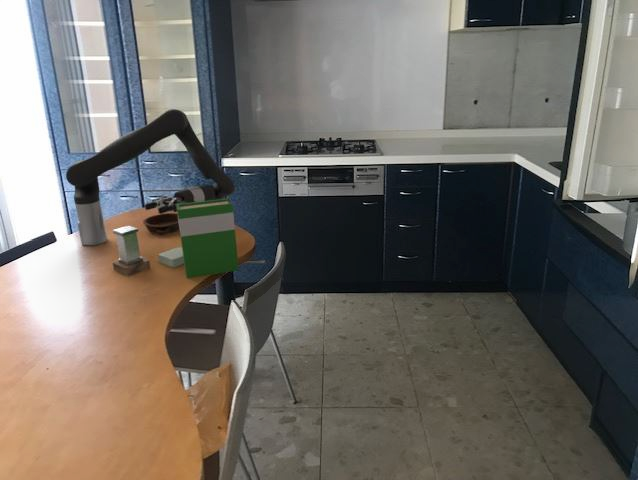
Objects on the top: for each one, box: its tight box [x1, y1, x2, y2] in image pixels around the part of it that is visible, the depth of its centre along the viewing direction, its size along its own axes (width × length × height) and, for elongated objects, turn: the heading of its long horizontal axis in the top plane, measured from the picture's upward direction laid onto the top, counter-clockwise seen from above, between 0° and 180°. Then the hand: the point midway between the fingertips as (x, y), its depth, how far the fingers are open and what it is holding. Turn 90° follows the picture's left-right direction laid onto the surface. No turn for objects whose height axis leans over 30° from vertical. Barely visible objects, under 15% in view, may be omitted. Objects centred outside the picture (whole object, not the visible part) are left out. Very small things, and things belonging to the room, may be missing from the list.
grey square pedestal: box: [112, 225, 144, 266], centre depth 177 cm, size 6×6×12 cm
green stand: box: [157, 246, 184, 268], centre depth 185 cm, size 9×9×3 cm
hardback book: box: [176, 197, 240, 279], centre depth 173 cm, size 18×7×24 cm, turn 108°
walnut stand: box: [112, 257, 151, 278], centre depth 180 cm, size 9×9×3 cm
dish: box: [142, 212, 180, 236], centre depth 220 cm, size 18×22×5 cm
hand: (152, 209), depth 181 cm, fingers open, 8 cm apart
